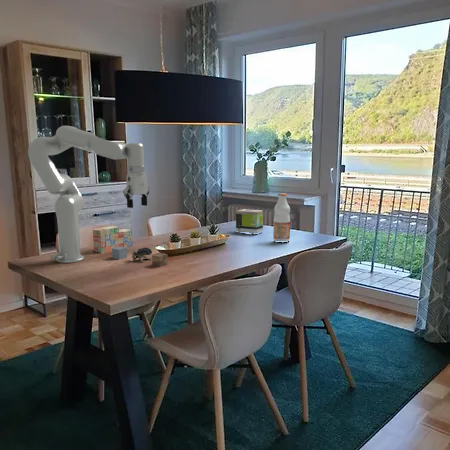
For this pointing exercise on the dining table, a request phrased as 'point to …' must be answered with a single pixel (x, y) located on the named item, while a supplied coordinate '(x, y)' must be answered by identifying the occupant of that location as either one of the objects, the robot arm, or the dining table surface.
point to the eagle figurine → (141, 254)
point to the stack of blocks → (111, 238)
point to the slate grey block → (119, 252)
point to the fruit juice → (281, 219)
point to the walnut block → (159, 259)
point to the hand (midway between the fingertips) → (137, 206)
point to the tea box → (249, 221)
